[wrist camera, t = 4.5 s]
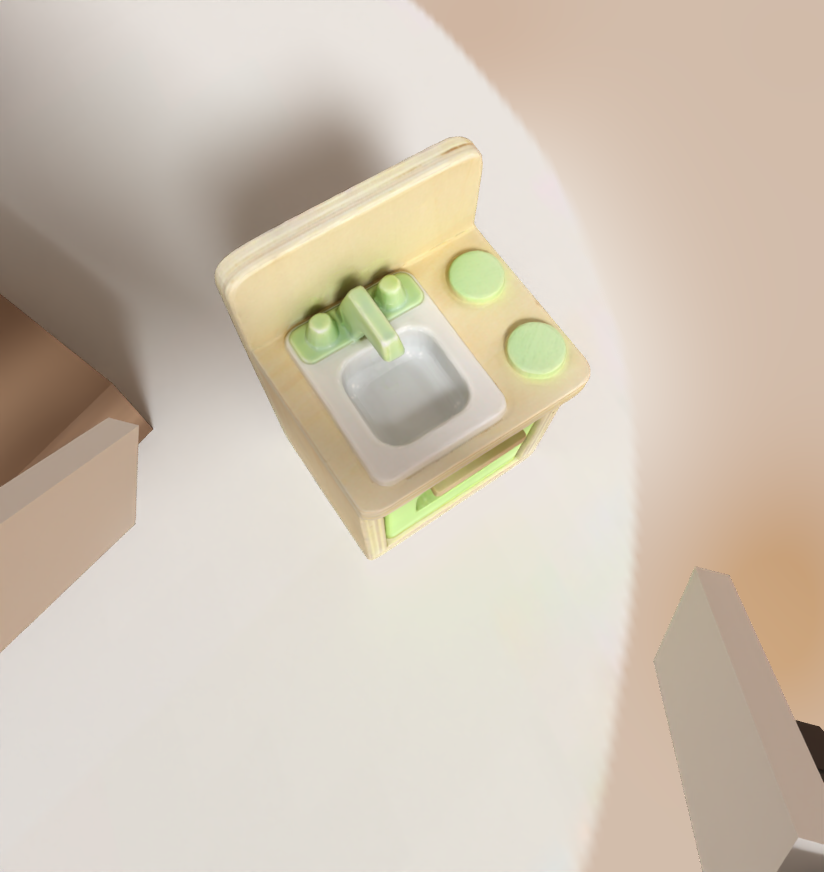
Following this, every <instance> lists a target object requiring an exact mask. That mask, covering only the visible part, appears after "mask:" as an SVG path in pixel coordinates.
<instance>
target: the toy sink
mask: <svg viewBox="0 0 824 872" xmlns="http://www.w3.org/2000/svg"><path fill="white" fill-rule="evenodd" d="M482 165H483V162H482V155H481V153H480V152H479V150H478V149H477V148H476V146H475V145H474V144H473V143H472V141H470V140H469V139H467V138H464V137H449V138H447V139H445V140H443V141H441V142H439V143H437V144H434V145H432V146H430V147H428V148H426V149H425V150H423V151H421V152H419V153H417V154H415V155H413V156H411V157H409V158H407V159H405V160H403V161H401V162H399V163H397V164H396V165H394V166H392V167H390V168H388V169H386V170H384V171H382V172H380V173H378V174H376V175H374V176H372V177H370V178H369V179H367V180H365V181H363V182H361V183H359V184H357V185H355V186H353V187H351V188H349V189H347V190H345V191H343V192H341V193H339V194H337V195H335V196H334V197H332V198H330V199H328V200H326V201H324V202H322V203H320V204H318V205H316V206H314V207H312V208H310V209H308V210H307V211H305V212H303V213H301V214H299V215H297V216H295V217H293V218H291V219H289V220H287V221H285V222H283V223H282V224H280V225H278V226H276V227H274V228H272V229H270V230H268V231H267V232H265V233H263V234H261V235H259V236H258V237H256V238H254V239H252V240H250V241H249V242H247V243H245V244H243V245H242V246H240V247H239V248H237V249H235V250H234V251H232V252H231V253H230V254H228V255H227V256H226V257H225V258H224V259H223V260H222V261H221V262H220V263H219V264H218V266H217V268H216V271H215V283H216V286H217V288H218V290H219V293H220V295H221V297H222V299H223V302H224V304H225V306H226V308H227V311H228V313H229V315H230V317H231V320H232V322H233V324H234V326H235V328H236V331H237V333H238V335H239V337H240V339H241V342H242V344H243V346H244V348H245V350H246V352H247V354H248V357H249V359H250V361H251V363H252V365H253V368H254V370H255V372H256V374H257V376H258V378H259V380H260V382H261V384H262V387H263V389H264V391H265V393H266V395H267V397H268V399H269V401H270V404H271V406H272V408H273V410H274V412H275V414H276V416H277V418H278V420H279V422H280V425H281V427H282V429H283V431H284V433H285V435H286V436H287V438H288V440H289V441H290V443H291V444H292V446H293V448H294V449H295V451H296V452H297V453H298V455H299V456H300V458H301V459H302V461H303V462H304V464H305V466H306V467H307V469H308V470H309V472H310V473H311V475H312V476H313V478H314V479H315V481H316V482H317V484H318V485H319V487H320V489H321V490H322V492H323V493H324V495H325V496H326V498H327V499H328V501H329V502H330V504H331V505H332V507H333V508H334V510H335V511H336V512H337V514H338V516H339V517H340V519H341V520H342V522H343V523H344V525H345V526H346V528H347V529H348V531H349V532H350V534H351V535H352V537H353V538H354V540H355V541H356V543H357V544H358V546H359V547H360V549H361V550H362V551H363V553H364V554H365V556H366V557H367V559H369V560H374V559H377V558H378V557H380V556H381V555H383V554H385V553H386V552H388V551H389V550H391V549H392V548H394V547H395V546H397V545H398V544H400V543H401V542H403V541H404V540H406V539H407V538H408V537H410V536H411V535H413V534H414V533H416V532H417V531H419V530H420V529H422V528H423V527H425V526H426V525H428V524H429V523H431V522H432V521H434V520H435V519H437V518H439V517H440V516H441V515H443V514H444V513H446V512H447V511H449V510H450V509H452V508H453V507H455V506H456V505H458V504H459V503H461V502H462V501H464V500H465V499H467V498H468V497H470V496H471V495H473V494H474V493H476V492H477V491H479V490H480V489H482V488H483V487H485V486H486V485H488V484H489V483H491V482H492V481H494V480H495V479H497V478H498V477H500V476H501V475H503V474H504V473H506V472H507V471H509V470H510V469H512V468H513V467H515V466H516V465H518V464H519V463H521V462H522V461H524V460H525V459H526V458H528V457H529V456H530V455H531V454H532V453H533V452H534V450H535V448H536V447H537V445H538V443H539V442H540V440H541V438H542V437H543V435H544V433H545V431H546V430H547V428H548V426H549V424H550V423H551V421H552V419H553V417H554V415H555V414H556V412H557V410H558V409H559V407H560V406H561V405H562V404H564V403H565V402H567V401H568V400H570V399H571V398H573V397H574V396H576V395H577V394H578V393H579V392H580V391H581V390H582V389H583V388H584V386H585V385H586V383H587V381H588V380H589V377H590V366H589V364H588V362H587V360H586V359H585V357H584V356H583V355H582V354H581V352H580V351H579V350H578V349H577V348H576V347H575V345H574V344H573V343H572V342H571V340H570V339H569V338H568V337H567V336H566V335H565V334H564V332H563V331H562V330H561V329H560V327H559V326H558V325H557V324H556V323H555V321H554V320H553V319H552V318H551V317H550V315H549V314H548V313H547V312H546V311H545V309H544V308H543V307H542V306H541V305H540V303H539V302H538V301H537V300H536V299H535V297H534V296H533V295H532V294H531V293H530V291H529V290H528V289H527V288H526V287H525V286H524V284H523V283H522V282H521V281H520V279H519V278H518V277H517V276H516V275H515V274H514V272H513V271H512V270H511V269H510V268H509V266H508V265H507V264H506V263H505V262H504V260H503V259H502V258H501V257H500V256H499V255H498V253H497V252H496V251H495V250H494V249H493V247H492V246H491V245H490V244H489V243H488V241H487V240H486V239H485V238H484V237H483V235H482V234H481V233H480V231H479V230H478V229H477V228H476V226H475V224H474V218H475V213H476V207H477V200H478V194H479V187H480V181H481V175H482Z"/></svg>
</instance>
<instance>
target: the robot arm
mask: <svg viewBox="0 0 824 872" xmlns="http://www.w3.org/2000/svg"><path fill="white" fill-rule="evenodd" d="M138 436H139V425H136V424H132V423H128V422H124V421H120V420H116V419H112V418H107V419H105V420H104V421H102V422H101V423H99V424H98V425H96V426H94V427H93V428H91V429H90V430H88V431H87V432H85V433H84V434H82V435H80V436H79V437H77V438H76V439H74V440H73V441H71V442H70V443H68V444H66V445H65V446H63V447H62V448H60V449H59V450H57V451H56V452H54V453H52V454H51V455H49V456H48V457H46V458H45V459H43V460H42V461H40V462H38V463H37V464H35V465H34V466H32V467H31V468H29V469H28V470H26V471H24V472H23V473H21V474H20V475H18V476H17V477H15V478H14V479H12V480H10V481H9V482H7V483H6V484H4V485H3V486H1V487H0V653H1V652H2V651H3V650H4V649H5V648H6V647H7V646H8V645H9V644H10V643H11V642H12V641H13V640H14V639H15V638H16V637H17V636H18V635H19V634H20V633H22V632H23V631H24V630H25V629H26V628H27V627H28V626H29V625H30V624H31V623H32V622H33V621H34V620H35V619H36V618H37V617H38V616H39V615H40V614H41V613H43V612H44V611H45V610H46V609H47V608H48V607H49V606H50V605H51V604H52V603H53V602H54V601H55V600H56V599H57V598H58V597H59V596H60V595H61V594H62V593H63V592H65V591H66V590H67V589H68V588H69V587H70V586H71V585H72V584H73V583H74V582H75V581H76V580H77V579H78V578H79V577H80V576H81V575H82V574H83V573H84V572H85V571H87V570H88V569H89V568H90V567H91V566H92V565H93V564H94V563H95V562H96V561H97V560H98V559H99V558H100V557H101V556H102V555H103V554H104V553H105V552H106V551H107V550H109V549H110V548H111V547H112V546H113V545H114V544H115V543H116V542H117V541H118V540H119V539H120V538H121V537H122V536H123V535H124V534H125V533H126V532H127V531H128V530H129V529H131V528H132V527H133V526H134V525H135V520H136V492H137V464H138ZM654 665H655V669H656V673H657V678H658V682H659V687H660V691H661V695H662V699H663V704H664V708H665V713H666V717H667V721H668V725H669V729H670V734H671V738H672V743H673V747H674V751H675V756H676V760H677V764H678V768H679V773H680V777H681V781H682V785H683V790H684V794H685V799H686V803H687V807H688V811H689V816H690V820H691V824H692V829H693V833H694V838H695V841H696V846H697V850H698V855H699V859H700V863H701V868H702V872H824V731H823V730H822V729H821V728H820V727H819V726H815V725H811V724H808V723H804V722H800V721H797V720H795V719H794V716H793V714H792V712H791V710H790V708H789V705H788V703H787V701H786V699H785V697H784V694H783V692H782V690H781V688H780V686H779V683H778V681H777V679H776V677H775V675H774V673H773V670H772V668H771V666H770V664H769V661H768V659H767V657H766V655H765V653H764V651H763V648H762V646H761V644H760V642H759V639H758V637H757V635H756V633H755V630H754V628H753V626H752V624H751V622H750V619H749V617H748V615H747V613H746V611H745V608H744V606H743V604H742V602H741V600H740V597H739V595H738V593H737V591H736V589H735V587H734V584H733V582H732V580H731V578H730V576H729V575H727V574H722V573H719V572H715V571H711V570H707V569H703V568H699V567H695V568H694V570H693V572H692V574H691V577H690V579H689V581H688V584H687V586H686V588H685V590H684V592H683V595H682V597H681V599H680V602H679V604H678V606H677V609H676V611H675V613H674V616H673V618H672V620H671V622H670V624H669V627H668V629H667V631H666V634H665V636H664V638H663V640H662V643H661V645H660V647H659V650H658V652H657V654H656V657H655V659H654Z"/></svg>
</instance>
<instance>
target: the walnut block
mask: <svg viewBox="0 0 824 872" xmlns="http://www.w3.org/2000/svg"><path fill="white" fill-rule="evenodd" d="M107 418H112V419H116V420H120V421H124V422H128V423H132V424H136V425H139V436H138V444H139V443H140V442H141V441H142V440H143V439H144V438H145V437H146V436H147V435H148V434H149V433H150V432H151V431H152V430H153V428H152V427H151V426H150V425H149V424H148V423H147V422H146V420H145V419H144V418H143V417H142V416H141V415H140V414H139V413H138V411H137V410H136V409H135V408H134V407H133V406H132V405H131V404H130V403H129V401H128V400H127V399H126V398H125V397H124V396H123V395H122V394H121V392H120V391H119V390H118V389H117V388H116V387H115V386H114V385H113V383H111V382H110V381H109V380H108V379H106V378H105V377H104V376H103V375H101V374H100V373H99V372H98V371H96V370H95V369H94V368H93V367H91V366H90V365H89V364H88V363H86V362H85V361H84V360H83V359H81V358H80V357H79V356H78V355H76V354H75V353H74V352H72V351H71V350H70V349H69V348H67V347H66V346H65V345H64V344H62V343H61V342H60V341H59V340H57V339H56V338H55V337H54V336H52V335H51V334H50V333H49V332H47V331H46V330H45V329H44V328H42V327H41V326H40V325H39V324H37V323H36V322H35V321H34V320H32V319H31V318H30V317H29V316H27V315H26V314H25V313H24V312H22V311H21V310H20V309H19V308H17V307H16V306H15V305H14V304H12V303H11V302H10V301H9V300H7V299H6V298H5V297H4V296H2V295H1V294H0V487H1V486H3V485H4V484H6V483H7V482H9V481H10V480H12V479H14V478H15V477H17V476H18V475H20V474H21V473H23V472H24V471H26V470H28V469H29V468H31V467H32V466H34V465H35V464H37V463H38V462H40V461H42V460H43V459H45V458H46V457H48V456H49V455H51V454H52V453H54V452H56V451H57V450H59V449H60V448H62V447H63V446H65V445H66V444H68V443H70V442H71V441H73V440H74V439H76V438H77V437H79V436H80V435H82V434H84V433H85V432H87V431H88V430H90V429H91V428H93V427H94V426H96V425H98V424H99V423H101V422H102V421H104V420H105V419H107Z"/></svg>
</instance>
